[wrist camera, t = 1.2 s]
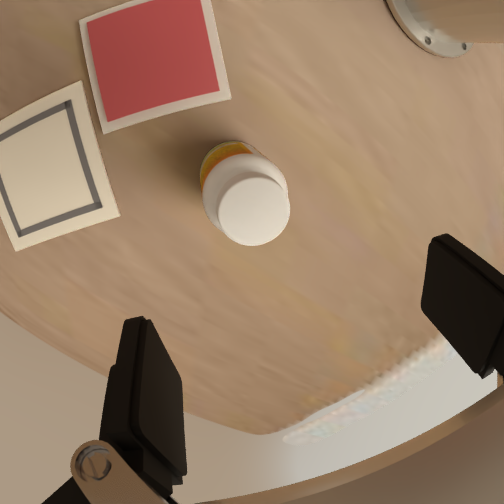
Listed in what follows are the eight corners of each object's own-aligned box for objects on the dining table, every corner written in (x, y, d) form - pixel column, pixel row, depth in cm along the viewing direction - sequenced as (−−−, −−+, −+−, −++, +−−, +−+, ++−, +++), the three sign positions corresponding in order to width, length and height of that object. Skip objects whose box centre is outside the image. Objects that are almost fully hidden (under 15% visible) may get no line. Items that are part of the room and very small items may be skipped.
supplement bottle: (190, 192, 26) (190, 243, 17) (213, 131, 24) (226, 149, 15) (250, 211, 27) (278, 268, 19) (274, 154, 25) (318, 185, 17)
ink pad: (206, -12, 18) (207, -21, 16) (229, 99, 23) (232, 98, 21) (83, 23, 17) (75, 18, 15) (107, 132, 22) (100, 135, 20)
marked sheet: (82, 80, 19) (80, 80, 19) (120, 215, 25) (119, 216, 25) (-24, 136, 19) (-26, 136, 18) (16, 250, 24) (15, 252, 24)
